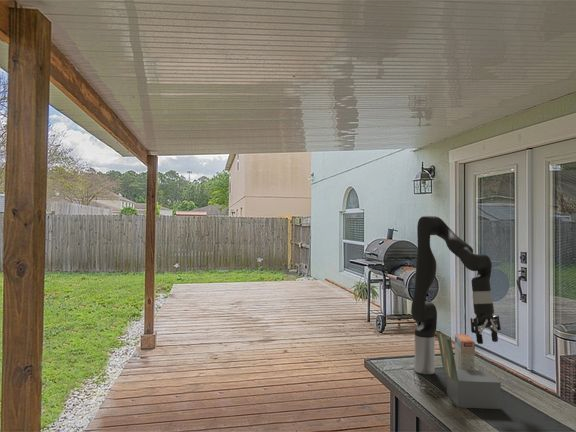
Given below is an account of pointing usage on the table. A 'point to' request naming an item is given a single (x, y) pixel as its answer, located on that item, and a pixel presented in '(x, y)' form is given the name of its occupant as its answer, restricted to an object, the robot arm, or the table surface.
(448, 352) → the lid
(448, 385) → the block
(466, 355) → the cracker box
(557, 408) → the table surface
